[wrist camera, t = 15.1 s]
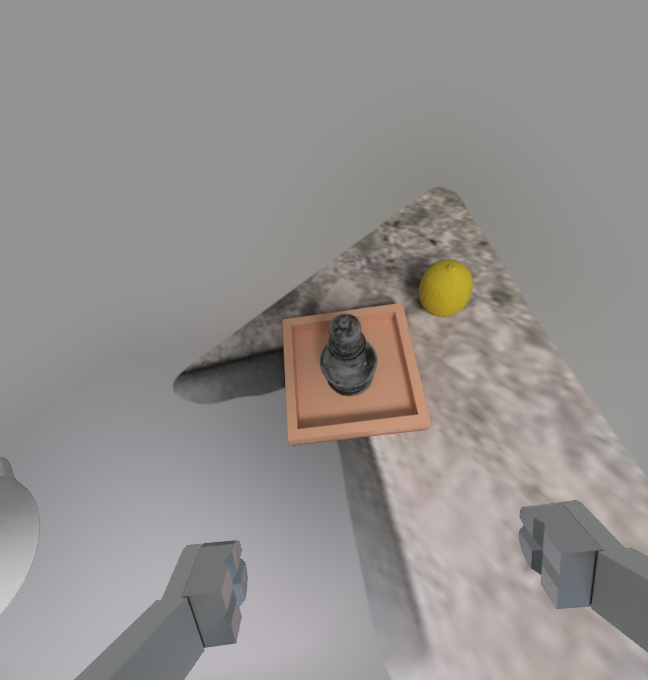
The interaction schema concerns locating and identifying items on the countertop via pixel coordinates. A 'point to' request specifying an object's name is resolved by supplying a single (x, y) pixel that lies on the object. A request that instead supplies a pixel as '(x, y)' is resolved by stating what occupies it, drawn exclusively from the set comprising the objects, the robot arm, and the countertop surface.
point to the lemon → (445, 288)
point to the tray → (361, 410)
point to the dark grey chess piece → (348, 357)
